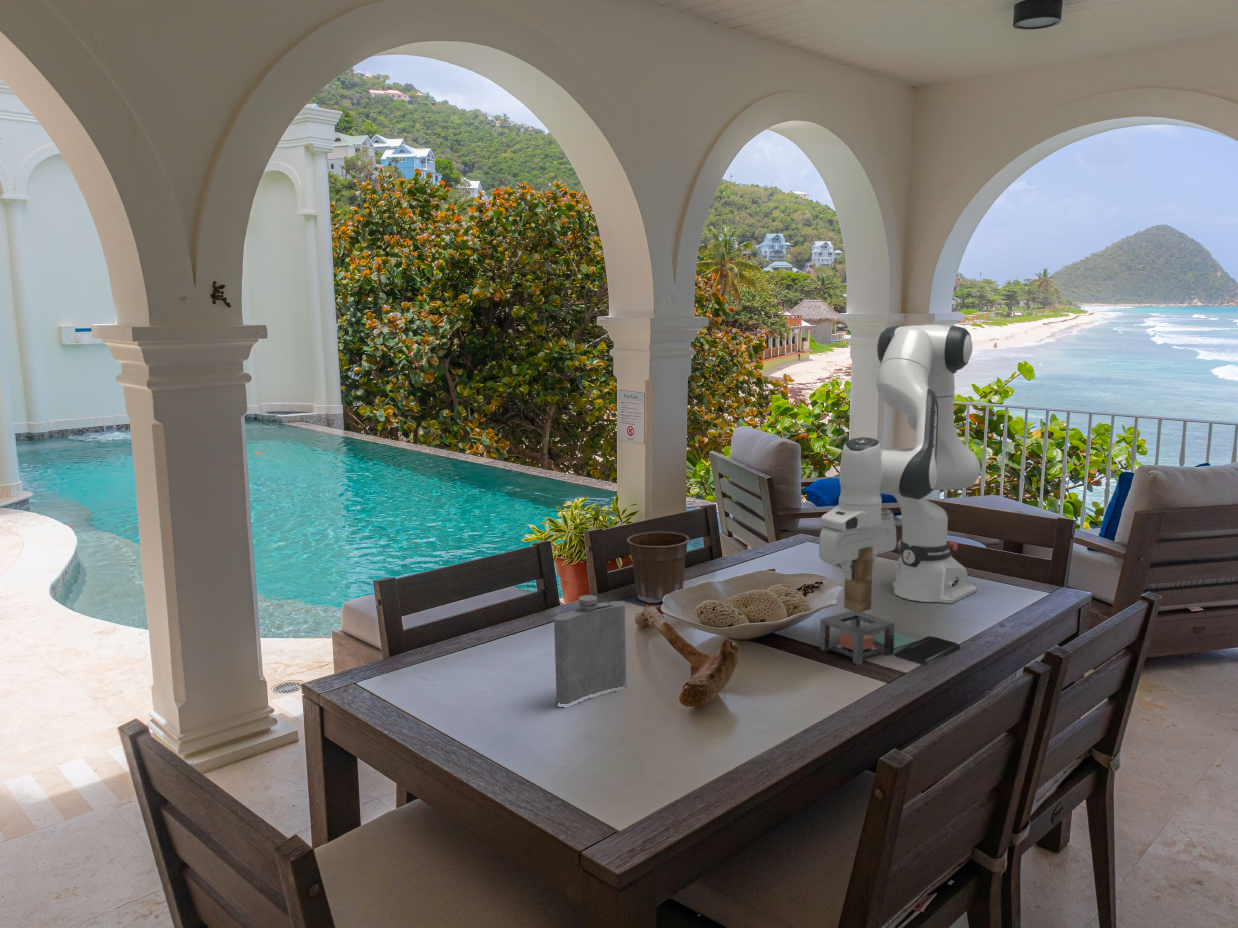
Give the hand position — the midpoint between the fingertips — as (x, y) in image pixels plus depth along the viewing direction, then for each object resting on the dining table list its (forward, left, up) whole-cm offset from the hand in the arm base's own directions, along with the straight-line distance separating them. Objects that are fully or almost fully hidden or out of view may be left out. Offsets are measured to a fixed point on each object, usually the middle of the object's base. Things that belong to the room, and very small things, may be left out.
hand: (858, 576), depth 190 cm
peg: (0, 0, -7) cm, 7 cm away
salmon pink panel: (0, 0, -15) cm, 16 cm away
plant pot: (+14, -56, -17) cm, 60 cm away
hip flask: (+60, -13, -17) cm, 64 cm away
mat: (-11, 0, -17) cm, 20 cm away
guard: (0, 0, -17) cm, 17 cm away
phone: (-12, +9, -18) cm, 23 cm away
